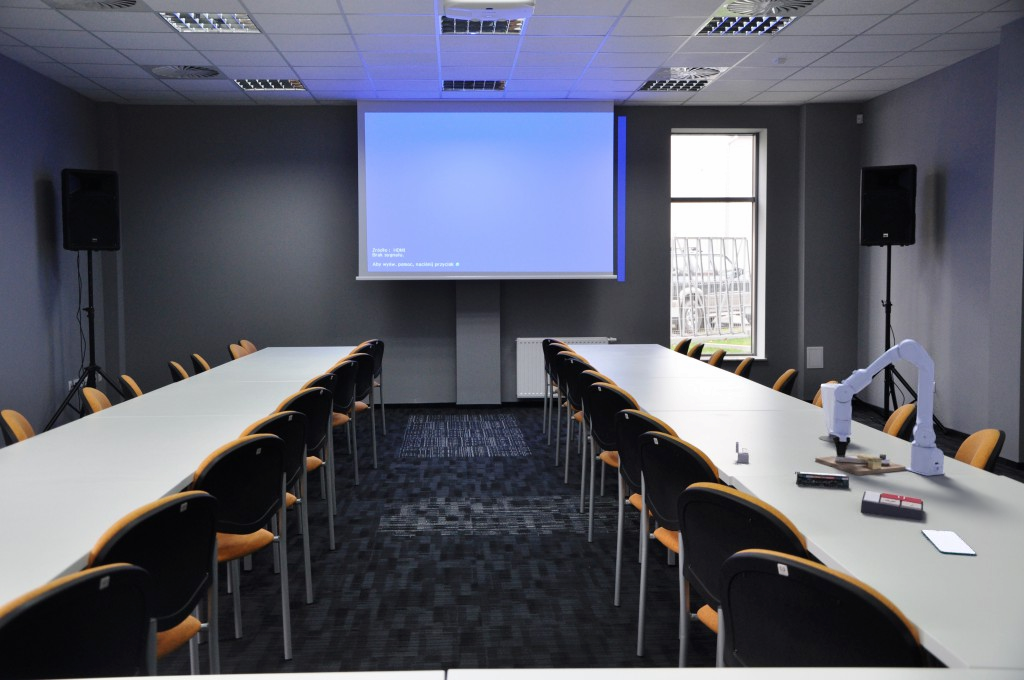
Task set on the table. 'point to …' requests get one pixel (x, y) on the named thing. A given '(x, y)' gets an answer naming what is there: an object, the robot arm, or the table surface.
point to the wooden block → (871, 461)
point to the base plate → (859, 465)
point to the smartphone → (948, 542)
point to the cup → (828, 408)
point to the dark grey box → (892, 505)
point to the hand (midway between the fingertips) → (840, 458)
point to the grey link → (857, 459)
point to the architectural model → (742, 454)
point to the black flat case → (822, 479)
